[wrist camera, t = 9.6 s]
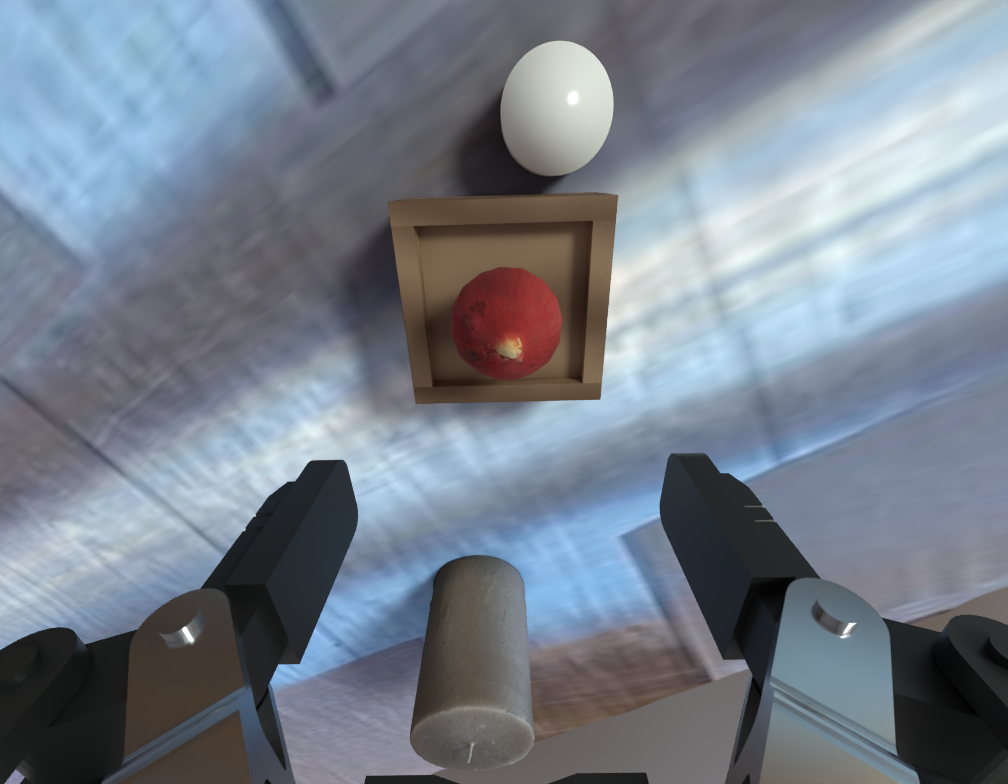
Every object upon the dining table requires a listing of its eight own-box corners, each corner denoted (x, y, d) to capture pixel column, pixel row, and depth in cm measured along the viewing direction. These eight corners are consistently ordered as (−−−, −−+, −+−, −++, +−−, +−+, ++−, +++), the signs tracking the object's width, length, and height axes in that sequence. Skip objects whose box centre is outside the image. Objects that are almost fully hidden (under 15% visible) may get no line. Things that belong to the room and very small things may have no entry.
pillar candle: (417, 595, 45) (382, 774, 31) (463, 540, 41) (445, 716, 28) (494, 625, 47) (492, 803, 34) (544, 575, 43) (563, 753, 30)
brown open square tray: (410, 198, 27) (387, 201, 22) (595, 192, 27) (618, 195, 22) (430, 367, 33) (415, 403, 27) (584, 363, 32) (600, 399, 27)
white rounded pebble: (499, 60, 24) (498, 42, 21) (603, 57, 24) (618, 38, 21) (502, 177, 27) (502, 177, 24) (596, 174, 27) (608, 174, 24)
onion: (477, 361, 27) (467, 426, 20) (443, 275, 24) (417, 314, 17) (564, 334, 26) (587, 392, 19) (538, 242, 24) (553, 268, 16)
